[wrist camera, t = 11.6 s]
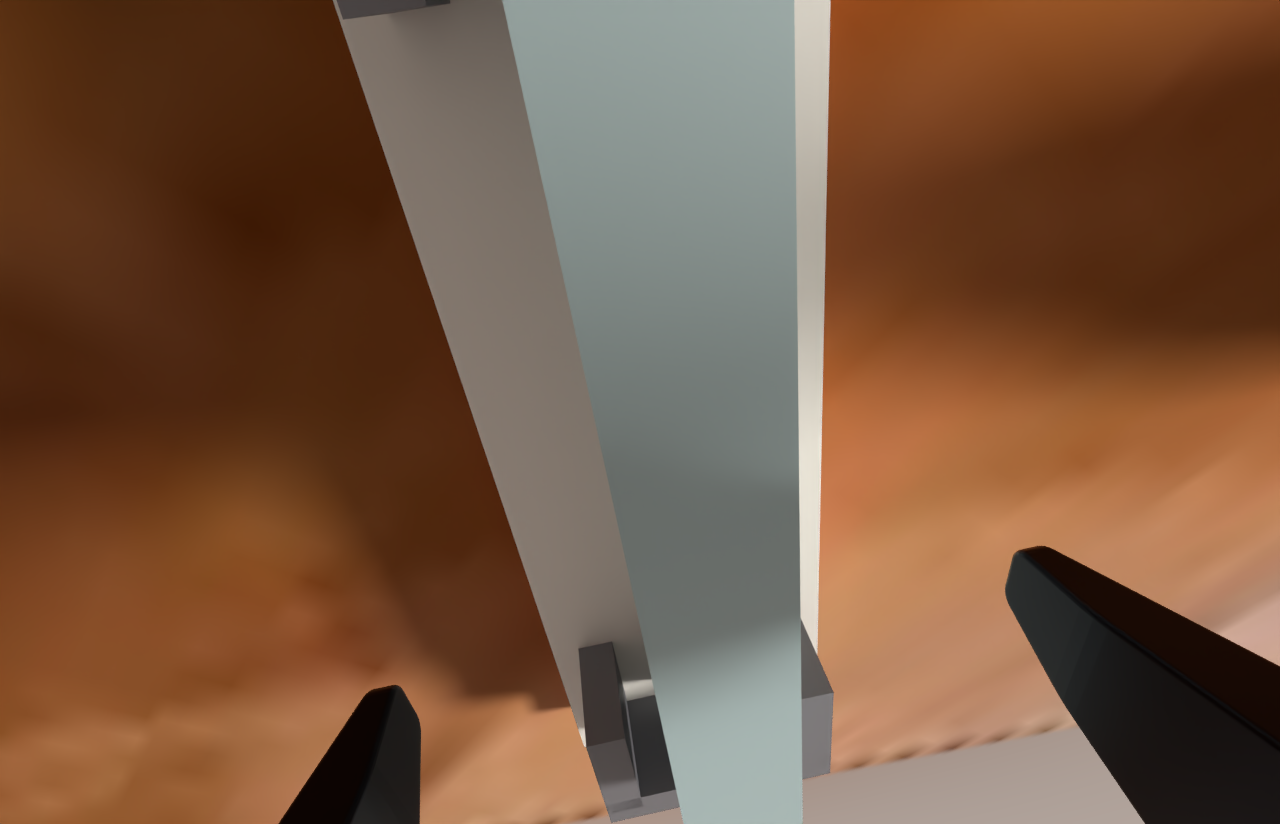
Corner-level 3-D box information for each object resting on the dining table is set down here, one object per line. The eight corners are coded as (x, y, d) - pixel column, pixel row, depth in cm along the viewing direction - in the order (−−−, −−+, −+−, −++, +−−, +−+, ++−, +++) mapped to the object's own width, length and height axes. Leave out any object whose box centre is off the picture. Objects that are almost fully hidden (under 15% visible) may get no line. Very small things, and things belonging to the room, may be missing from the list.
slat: (651, -184, 10) (789, -383, 4) (735, 661, 20) (803, 875, 15) (481, -156, 9) (430, -330, 4) (657, 678, 20) (700, 900, 15)
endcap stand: (799, -488, 9) (989, -826, 5) (800, 658, 23) (853, 784, 20) (221, -411, 9) (-7, -716, 5) (581, 706, 23) (591, 844, 19)
